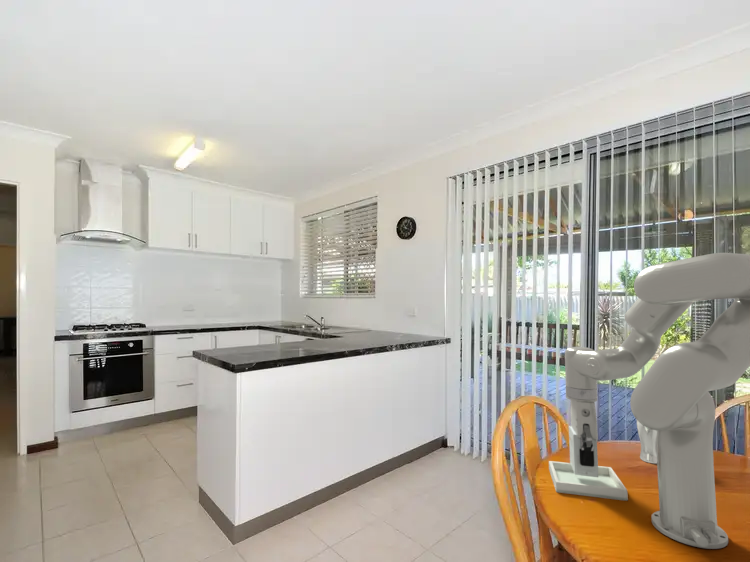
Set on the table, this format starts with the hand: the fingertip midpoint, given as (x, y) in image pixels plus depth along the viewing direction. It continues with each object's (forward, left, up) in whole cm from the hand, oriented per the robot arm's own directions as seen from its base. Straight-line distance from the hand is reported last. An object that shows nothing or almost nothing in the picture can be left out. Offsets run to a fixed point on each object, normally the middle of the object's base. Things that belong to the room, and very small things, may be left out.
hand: (583, 458), depth 104 cm
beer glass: (+23, -23, -7) cm, 33 cm away
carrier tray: (0, 0, -7) cm, 7 cm away
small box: (0, 0, -3) cm, 3 cm away
